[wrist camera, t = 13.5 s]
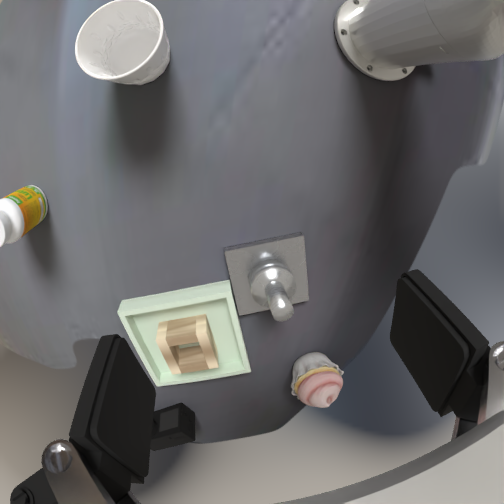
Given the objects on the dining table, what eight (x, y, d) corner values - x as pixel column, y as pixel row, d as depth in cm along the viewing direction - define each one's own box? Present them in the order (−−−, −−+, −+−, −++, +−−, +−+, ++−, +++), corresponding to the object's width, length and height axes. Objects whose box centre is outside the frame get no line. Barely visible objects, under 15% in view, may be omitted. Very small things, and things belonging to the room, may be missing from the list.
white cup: (175, 86, 28) (161, 72, 19) (108, 94, 27) (72, 87, 18) (177, 24, 25) (166, -9, 16) (111, 34, 24) (79, 9, 15)
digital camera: (178, 398, 49) (177, 429, 43) (194, 412, 51) (195, 441, 45) (138, 412, 50) (134, 440, 44) (155, 424, 52) (153, 451, 46)
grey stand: (300, 232, 38) (325, 263, 30) (306, 295, 42) (326, 334, 34) (223, 247, 37) (228, 284, 29) (238, 310, 42) (245, 353, 34)
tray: (229, 279, 39) (231, 290, 37) (248, 359, 46) (251, 371, 44) (121, 300, 39) (117, 312, 36) (158, 374, 45) (157, 386, 43)
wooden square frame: (158, 322, 40) (155, 340, 37) (205, 313, 41) (206, 332, 37) (177, 362, 44) (176, 381, 40) (219, 355, 44) (221, 374, 41)
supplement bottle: (47, 184, 30) (6, 207, 21) (50, 223, 32) (13, 255, 24) (17, 184, 29) (-26, 206, 20) (20, 222, 31) (-18, 252, 23)
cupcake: (339, 367, 51) (358, 407, 42) (293, 386, 51) (306, 429, 42) (328, 336, 47) (350, 379, 38) (276, 358, 47) (290, 405, 38)
